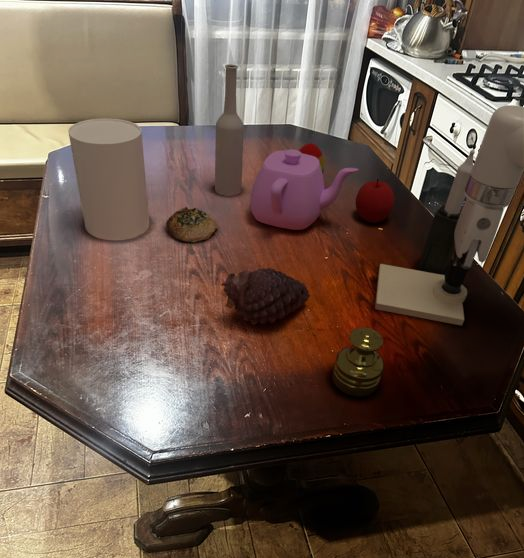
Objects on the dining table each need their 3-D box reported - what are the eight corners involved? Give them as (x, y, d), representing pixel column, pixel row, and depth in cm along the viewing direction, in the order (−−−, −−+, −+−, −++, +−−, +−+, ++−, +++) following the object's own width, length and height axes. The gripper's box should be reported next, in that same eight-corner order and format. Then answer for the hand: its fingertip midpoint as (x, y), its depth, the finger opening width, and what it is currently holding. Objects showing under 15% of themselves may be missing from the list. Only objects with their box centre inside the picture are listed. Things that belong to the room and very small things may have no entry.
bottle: (244, 194, 127) (250, 69, 108) (218, 197, 125) (220, 70, 106) (236, 183, 131) (241, 61, 112) (211, 185, 129) (212, 61, 110)
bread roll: (166, 216, 115) (168, 196, 112) (215, 223, 118) (218, 203, 114) (164, 244, 108) (166, 223, 104) (216, 250, 110) (220, 230, 107)
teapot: (234, 232, 113) (237, 165, 103) (263, 193, 128) (268, 131, 118) (335, 255, 109) (348, 188, 99) (352, 212, 124) (365, 150, 114)
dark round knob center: (458, 287, 98) (461, 279, 97) (459, 296, 96) (462, 288, 95) (442, 284, 99) (445, 276, 98) (443, 293, 97) (445, 285, 95)
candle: (415, 270, 107) (454, 150, 90) (424, 259, 110) (463, 142, 93) (438, 279, 105) (482, 158, 88) (447, 268, 108) (491, 150, 91)
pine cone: (289, 285, 99) (318, 260, 91) (300, 333, 96) (331, 311, 88) (206, 280, 90) (230, 252, 82) (215, 333, 87) (241, 309, 79)
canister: (145, 207, 118) (137, 117, 105) (153, 237, 109) (145, 142, 95) (83, 211, 115) (67, 119, 101) (87, 243, 105) (69, 145, 92)
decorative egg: (292, 173, 138) (297, 136, 131) (322, 177, 137) (328, 140, 131) (289, 186, 132) (293, 147, 125) (320, 190, 131) (326, 152, 125)
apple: (396, 227, 120) (407, 186, 113) (360, 228, 118) (369, 187, 111) (381, 208, 127) (391, 168, 120) (347, 209, 125) (354, 169, 118)
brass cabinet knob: (381, 399, 79) (397, 351, 72) (333, 396, 79) (345, 348, 72) (374, 366, 84) (389, 318, 77) (329, 363, 84) (340, 315, 77)
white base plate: (459, 284, 104) (464, 271, 102) (464, 326, 94) (470, 313, 92) (378, 269, 106) (382, 256, 104) (374, 309, 96) (378, 296, 94)
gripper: (519, 214, 78) (476, 308, 90) (507, 174, 89) (469, 264, 101) (469, 205, 79) (433, 300, 91) (463, 167, 90) (431, 257, 102)
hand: (452, 281), depth 96 cm, fingers closed
